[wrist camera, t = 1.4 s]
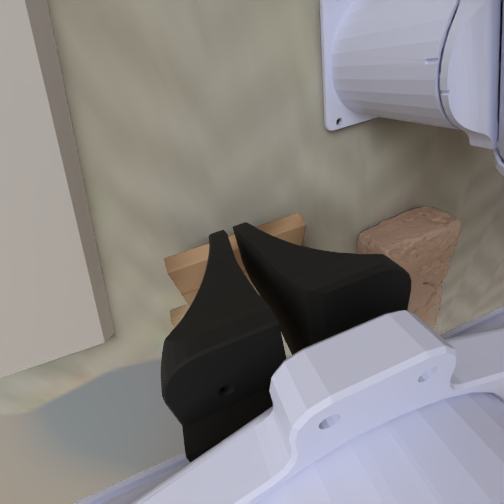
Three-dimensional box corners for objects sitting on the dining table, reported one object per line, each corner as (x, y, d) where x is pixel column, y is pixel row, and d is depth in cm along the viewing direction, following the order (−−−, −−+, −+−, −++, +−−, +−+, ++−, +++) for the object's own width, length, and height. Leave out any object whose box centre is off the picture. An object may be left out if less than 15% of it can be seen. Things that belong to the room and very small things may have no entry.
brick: (411, 305, 38) (441, 330, 34) (358, 331, 37) (383, 360, 33) (423, 197, 28) (466, 215, 25) (351, 229, 27) (385, 252, 24)
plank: (298, 212, 20) (306, 225, 20) (291, 259, 26) (297, 270, 26) (163, 258, 19) (168, 274, 18) (188, 297, 25) (192, 310, 24)
